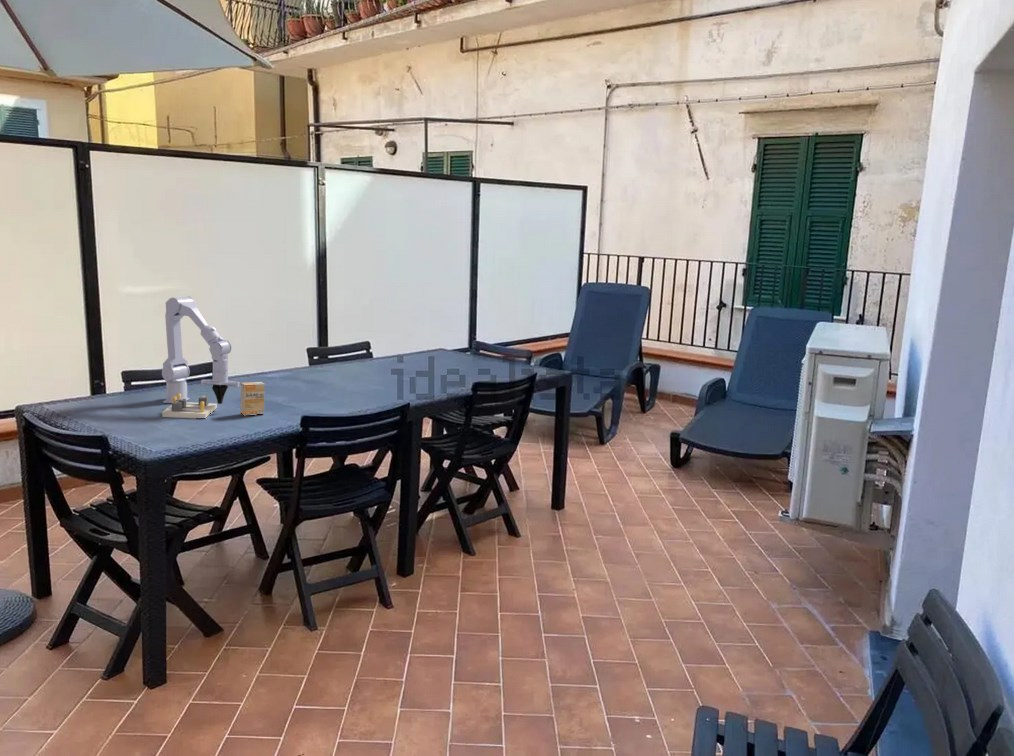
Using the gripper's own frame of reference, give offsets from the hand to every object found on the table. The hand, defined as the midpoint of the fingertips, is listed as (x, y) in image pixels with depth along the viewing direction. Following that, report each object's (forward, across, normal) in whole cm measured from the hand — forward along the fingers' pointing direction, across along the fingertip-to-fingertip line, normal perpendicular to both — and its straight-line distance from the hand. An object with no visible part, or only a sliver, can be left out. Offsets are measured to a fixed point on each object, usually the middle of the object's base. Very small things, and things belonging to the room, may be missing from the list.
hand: (220, 403), depth 304 cm
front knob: (+1, -13, -11) cm, 17 cm away
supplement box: (+3, +14, -4) cm, 15 cm away
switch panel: (+3, -10, -6) cm, 12 cm away
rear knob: (+1, -6, 0) cm, 6 cm away
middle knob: (+1, -13, -6) cm, 15 cm away
